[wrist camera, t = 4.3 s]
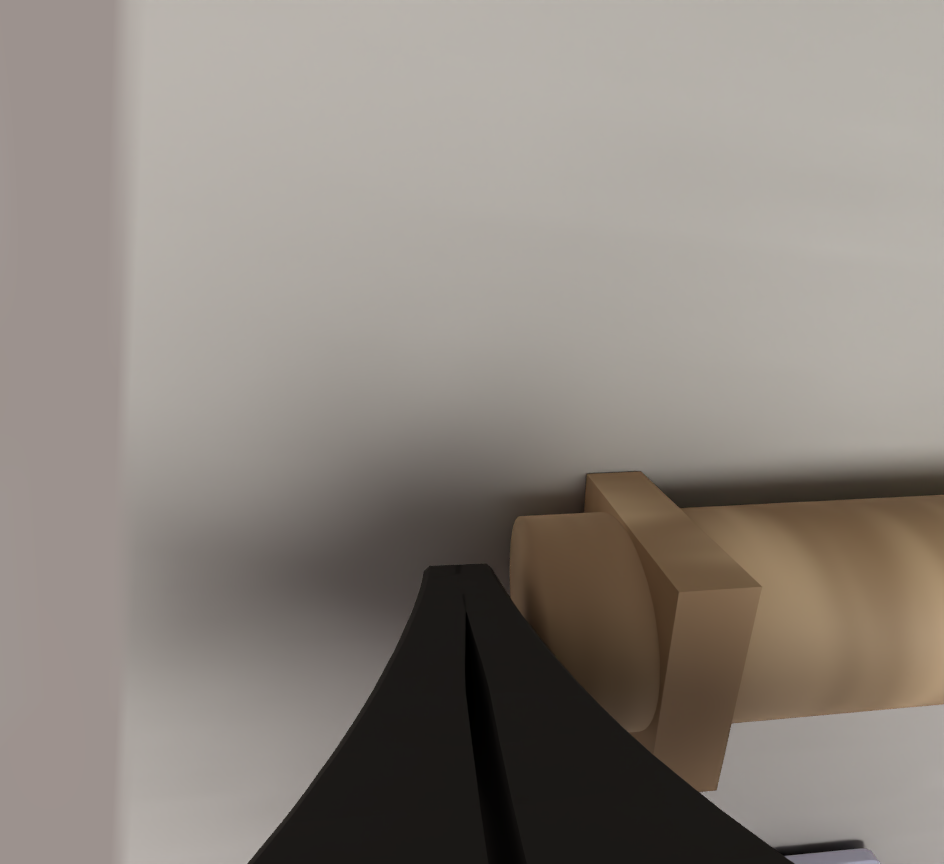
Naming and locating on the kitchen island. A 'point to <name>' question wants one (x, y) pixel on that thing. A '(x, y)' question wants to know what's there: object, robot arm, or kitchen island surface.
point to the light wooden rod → (734, 610)
